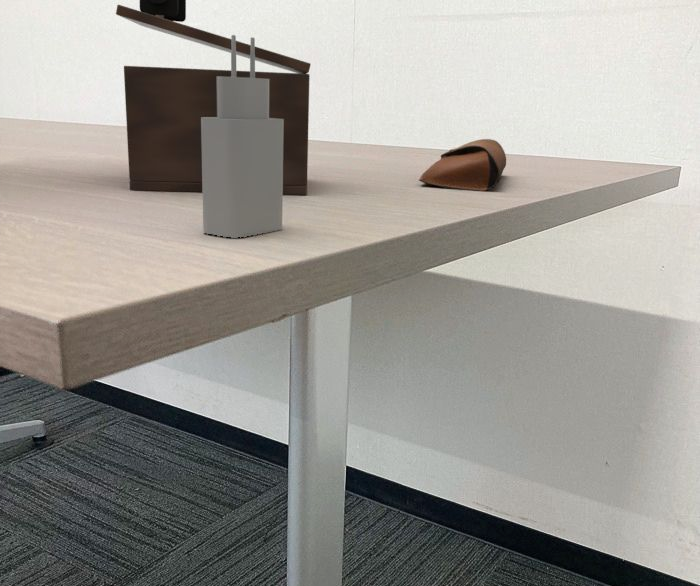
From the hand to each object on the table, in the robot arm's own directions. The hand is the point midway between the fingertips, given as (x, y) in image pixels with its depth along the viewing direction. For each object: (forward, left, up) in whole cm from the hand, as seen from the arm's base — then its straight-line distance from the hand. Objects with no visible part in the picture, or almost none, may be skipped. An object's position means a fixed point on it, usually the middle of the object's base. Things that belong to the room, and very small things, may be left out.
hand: (163, 15), depth 69 cm
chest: (+5, +2, -15) cm, 16 cm away
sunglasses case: (+23, +23, -15) cm, 36 cm away
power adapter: (+19, -19, -15) cm, 30 cm away
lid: (+4, +2, -2) cm, 6 cm away
